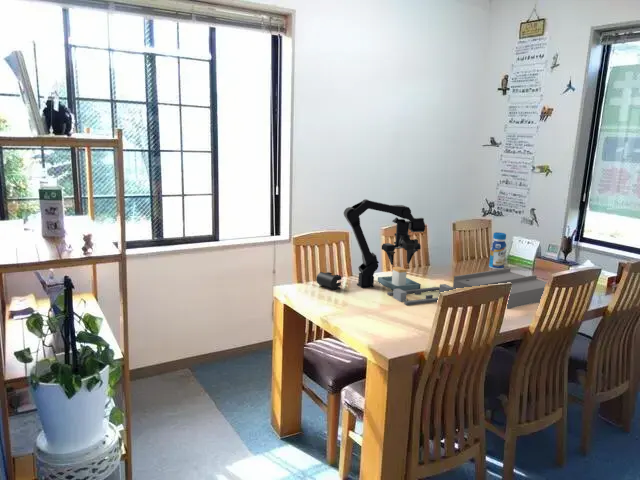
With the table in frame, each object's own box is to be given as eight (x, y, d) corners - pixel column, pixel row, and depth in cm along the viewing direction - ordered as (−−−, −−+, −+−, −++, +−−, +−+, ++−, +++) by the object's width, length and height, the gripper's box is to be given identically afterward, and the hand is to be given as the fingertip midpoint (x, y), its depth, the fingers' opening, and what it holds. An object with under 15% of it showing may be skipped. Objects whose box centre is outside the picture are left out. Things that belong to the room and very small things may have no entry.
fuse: (398, 286, 239) (399, 270, 237) (391, 283, 244) (392, 267, 243) (405, 285, 240) (406, 269, 239) (398, 282, 246) (399, 266, 244)
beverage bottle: (493, 265, 292) (497, 231, 288) (507, 268, 285) (510, 233, 281) (485, 267, 286) (489, 232, 282) (498, 270, 280) (502, 235, 276)
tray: (395, 291, 232) (396, 286, 232) (377, 282, 247) (377, 277, 247) (420, 289, 238) (420, 284, 237) (401, 280, 252) (401, 275, 252)
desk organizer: (563, 297, 234) (565, 283, 233) (507, 309, 213) (509, 294, 212) (507, 280, 260) (509, 267, 259) (452, 290, 239) (453, 276, 238)
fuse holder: (406, 305, 213) (407, 296, 212) (387, 294, 227) (387, 286, 226) (459, 299, 224) (460, 290, 223) (437, 289, 238) (438, 281, 238)
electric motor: (315, 286, 236) (316, 272, 235) (326, 284, 241) (327, 270, 240) (330, 291, 229) (331, 277, 228) (341, 288, 234) (342, 274, 233)
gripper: (394, 236, 226) (392, 269, 229) (428, 234, 234) (426, 266, 237) (381, 231, 236) (380, 263, 239) (415, 230, 244) (412, 261, 247)
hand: (400, 264), depth 240 cm, fingers open, 9 cm apart
